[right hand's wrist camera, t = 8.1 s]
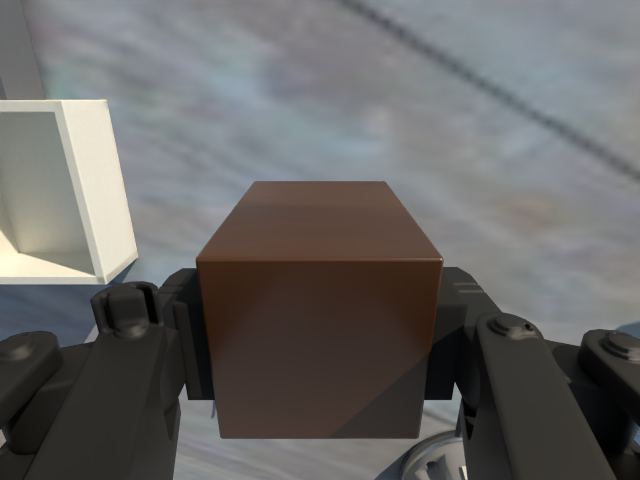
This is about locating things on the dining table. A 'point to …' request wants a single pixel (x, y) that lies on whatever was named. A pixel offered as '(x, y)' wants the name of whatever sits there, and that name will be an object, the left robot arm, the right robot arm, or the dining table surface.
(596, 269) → the dining table surface
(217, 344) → the walnut block
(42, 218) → the bin
